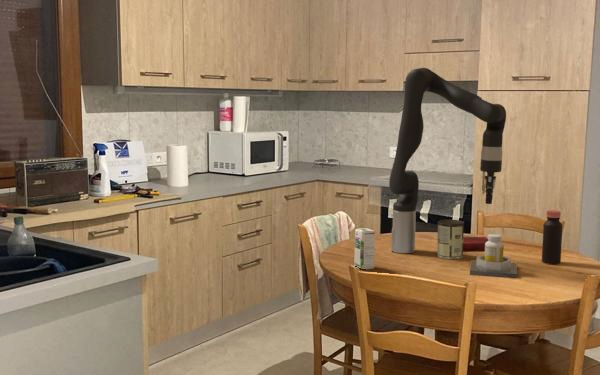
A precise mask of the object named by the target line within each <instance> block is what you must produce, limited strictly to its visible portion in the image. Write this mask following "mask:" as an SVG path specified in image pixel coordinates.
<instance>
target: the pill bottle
mask: <svg viewBox="0 0 600 375" xmlns="http://www.w3.org/2000/svg"><path fill="white" fill-rule="evenodd" d="M487 238H488V239H489V240H488V241H487V242H486V243H485V251H484V255H485V261H491V262H503V256H504V248H505V247H504V243H503V242H502V235H501V234H497V233H496V234H495V233H492V234H491V233H489V234H487Z"/></svg>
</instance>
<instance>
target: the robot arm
mask: <svg viewBox="0 0 600 375" xmlns="http://www.w3.org/2000/svg"><path fill="white" fill-rule="evenodd" d="M404 83H405V84H404V97H403V99H404V100H403V107H402V114H401V117H400V118H401V121H400V125H399V130H398V137H397V143H396V144H397V146H396V151H395V156H394V160H393V164H392V167H391V171H390V175H389V180H388V182H389V183H388V184H389V190H390V192H391V193H392V194H393V195H402V197H401V198H400V199H397V201H395V202H393V205H392V229H391V247H390V248H391V251H393V253H396V254H397V253H399V254H411V253H415V251H416V250H415V249H416V220H417V219H416V218H417V217H416V214H417V212H416V210H417V206H418V202H419V201H418V199H419V198H418V197H419V186H420V184H419V183H420V182H419V176H418V174H417V173H416V172H415V171H413V170H406V168H407V165H408V164H409V161H410V159H412V156H414V154H415V153H416V151H417V150H418V148H419V147H420V146H421V143H422V139H423V133H424V118H423V114H422V104H423V98H424V94H425V92H427V93H428V92H429V93H432V94H436V95H438V96H440V97H442V98H444V99H445V100H446V101H447V102H449V103H450V104H451V105H452V106H454V107H456V108H458V109H460V110H462V111H464V112H466V113H467V114H471V115H473V116H474V117H476V118H478V119H479V120H481V121H483V122H484V123H486V126H485V130H484V132H483V134H482V144H481V145H482V146H481V151H480V165H479V166H480V169H479V170H480V171H481V172H485V173H486V175H484V189H485V190H484V191H485V192H484V193H485V204H486V205H491V204H492V203H493V197H494V196H493V193H494V189H495V187H496V182H497V180H496V179H497V176H495V174H496V173H501V172H502V169H503V168H502V167H503V166H502V165H503V136H504V135H503V134H504V131H505V130H504V129H505V126H506V121H507V110H506V107H504V105H502V104H500V103H492V102H489V101H487V100H485V99H483V98H482V97H481V96H480V95H477V94H476V93H472V92H471V91H469V90H466V89H465V88H462V87H459V86H457V85H455V84H453V83H451V82H450V81H448V80H446V79H445V78H443V77H441V76H440V75H439V74H437V73H436V72H434V71H433V70H431V69H429V68H427V67H420V68H414V69H411V70H410V71H409V72H408V73H407V74H406V77H405V82H404ZM391 251H390V252H391Z"/></svg>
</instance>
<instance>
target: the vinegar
mask: <svg viewBox="0 0 600 375" xmlns="http://www.w3.org/2000/svg"><path fill="white" fill-rule="evenodd" d="M561 214H562V213H561V211H560V210H548V209H547V210H546V221H545V222H543V229H542V247H541V249H542V250H541V262H542V263H544V264H546V265H559V264H561V262H562V261H561V260H562V244H563V243H562V242H563V240H562V239H563V223H562V222H561V221H560V219H561Z"/></svg>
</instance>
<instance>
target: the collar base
mask: <svg viewBox="0 0 600 375" xmlns="http://www.w3.org/2000/svg"><path fill="white" fill-rule="evenodd" d="M517 267H518V266H517V262H512V258H511V257H508V256H504V255H503V262H491V261H485V254H481V255H476V259H471V262H470V268H469V275H473V276H485V277H499V278H501V277H502V278H513V279H517V278H518V269H517Z"/></svg>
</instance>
